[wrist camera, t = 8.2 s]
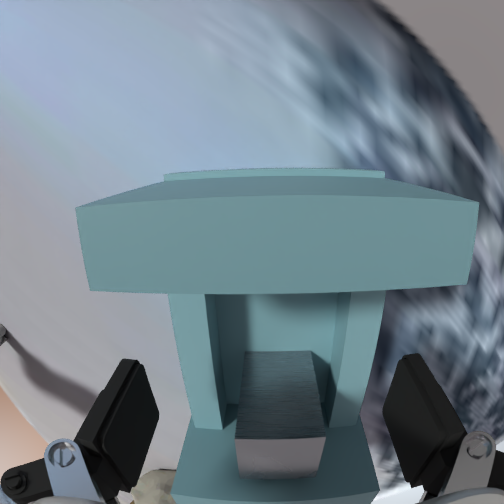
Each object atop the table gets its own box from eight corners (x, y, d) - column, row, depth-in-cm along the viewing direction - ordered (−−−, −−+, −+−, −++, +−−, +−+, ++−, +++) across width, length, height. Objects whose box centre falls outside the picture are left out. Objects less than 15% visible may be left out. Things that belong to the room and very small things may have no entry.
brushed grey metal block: (245, 351, 16) (234, 438, 10) (310, 350, 15) (325, 437, 10) (247, 396, 17) (239, 478, 11) (306, 395, 16) (315, 477, 11)
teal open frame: (171, 173, 14) (73, 195, 6) (375, 170, 14) (479, 190, 6) (203, 413, 19) (180, 510, 11) (345, 411, 18) (367, 508, 11)
